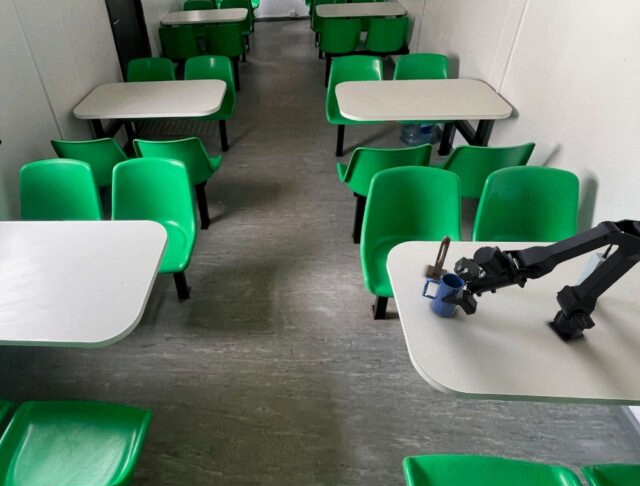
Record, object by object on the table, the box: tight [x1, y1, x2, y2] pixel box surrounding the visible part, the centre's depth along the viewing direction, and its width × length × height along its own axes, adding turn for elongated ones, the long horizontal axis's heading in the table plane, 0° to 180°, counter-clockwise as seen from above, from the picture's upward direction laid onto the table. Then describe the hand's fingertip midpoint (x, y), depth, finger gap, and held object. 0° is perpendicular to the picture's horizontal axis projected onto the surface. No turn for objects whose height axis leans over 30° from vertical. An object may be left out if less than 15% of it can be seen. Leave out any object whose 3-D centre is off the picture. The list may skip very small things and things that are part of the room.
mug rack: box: [425, 235, 452, 281], centre depth 135 cm, size 6×14×17 cm, turn 151°
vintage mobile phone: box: [574, 244, 614, 286], centre depth 126 cm, size 4×5×25 cm
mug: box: [421, 272, 465, 318], centre depth 128 cm, size 10×6×12 cm, turn 61°
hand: (443, 292), depth 128 cm, fingers closed on mug, 6 cm apart
